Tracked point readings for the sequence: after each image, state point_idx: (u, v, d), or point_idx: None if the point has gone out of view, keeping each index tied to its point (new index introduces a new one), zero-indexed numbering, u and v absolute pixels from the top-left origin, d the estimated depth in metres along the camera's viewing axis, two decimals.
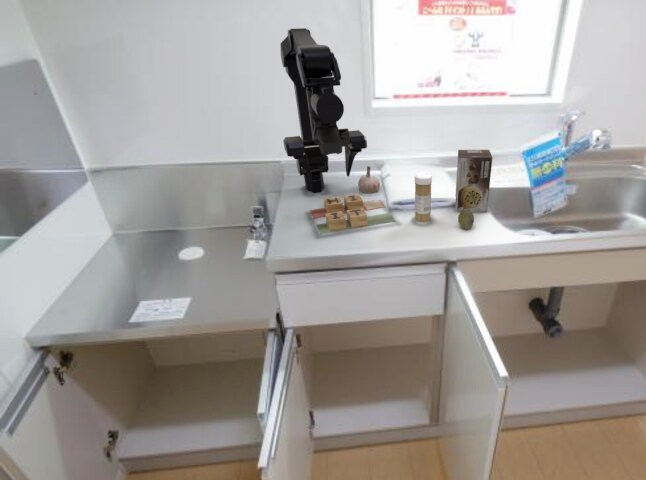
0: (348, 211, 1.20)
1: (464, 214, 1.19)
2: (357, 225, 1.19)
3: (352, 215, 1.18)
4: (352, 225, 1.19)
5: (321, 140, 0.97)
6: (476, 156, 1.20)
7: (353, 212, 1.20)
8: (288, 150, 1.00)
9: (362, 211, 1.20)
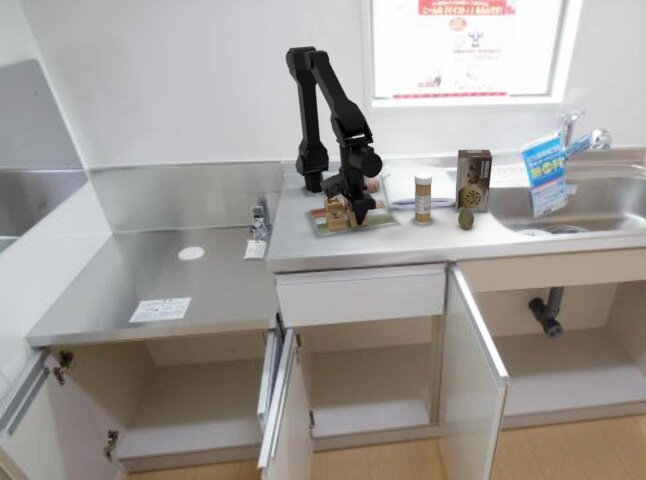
0: (348, 211, 1.20)
1: (464, 214, 1.19)
2: (357, 225, 1.19)
3: (352, 215, 1.18)
4: (352, 225, 1.19)
5: (323, 181, 1.13)
6: (476, 156, 1.20)
7: (353, 212, 1.20)
8: None
9: None
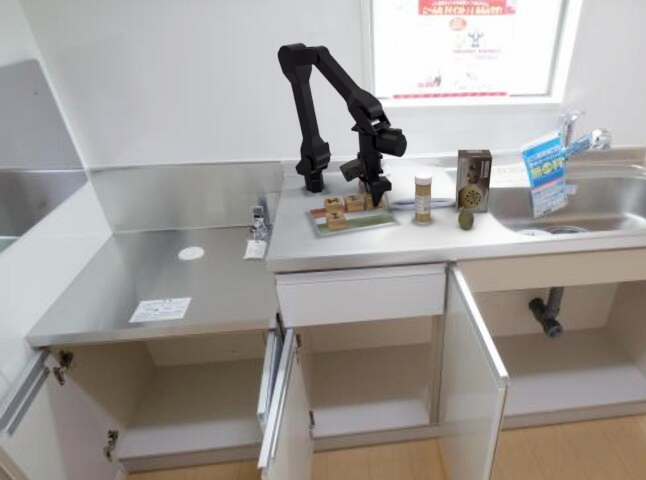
0: (365, 193, 1.29)
1: (464, 214, 1.19)
2: None
3: (368, 197, 1.27)
4: (368, 206, 1.28)
5: (342, 165, 1.22)
6: (476, 156, 1.20)
7: (369, 194, 1.28)
8: None
9: None
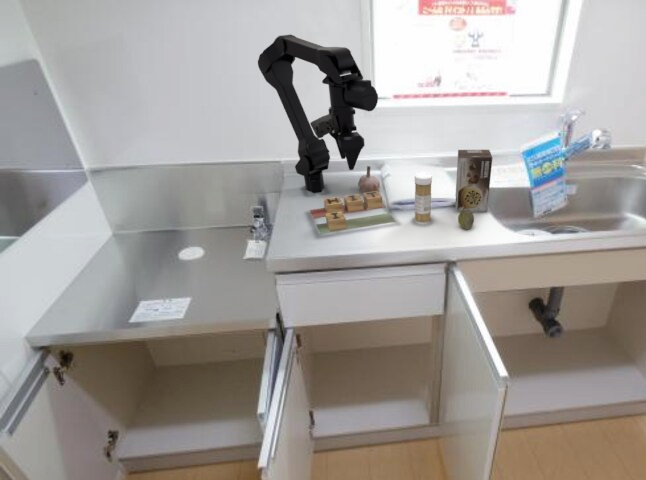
0: (365, 193, 1.29)
1: (464, 214, 1.19)
2: (373, 206, 1.28)
3: (368, 197, 1.27)
4: (368, 206, 1.28)
5: (313, 121, 1.17)
6: (476, 156, 1.20)
7: (369, 194, 1.28)
8: None
9: (378, 193, 1.29)
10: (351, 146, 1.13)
